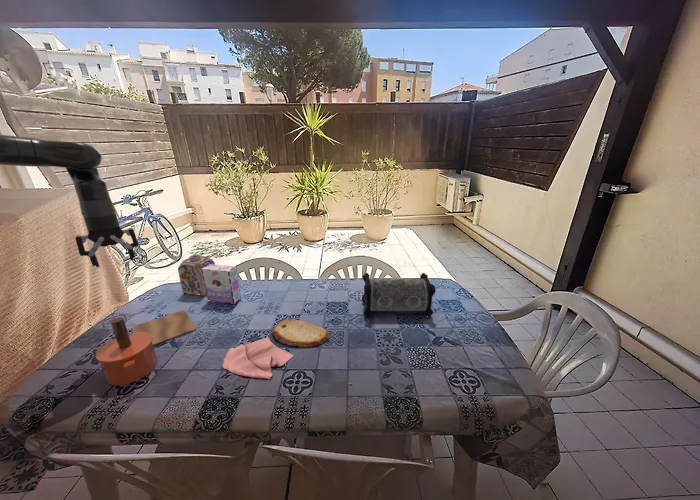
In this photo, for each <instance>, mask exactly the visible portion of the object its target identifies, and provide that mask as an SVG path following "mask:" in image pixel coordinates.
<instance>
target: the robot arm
mask: <svg viewBox="0 0 700 500" xmlns="http://www.w3.org/2000/svg"><path fill="white" fill-rule="evenodd" d="M102 160H103V157H102V154H101V152H100V151H99V150H98V149H97V148H95V147H94V146H93V145H90V144H88V143H85V142H77V141H63V140H62V141H61V140H46V139H41V138H35V137H27V136H18V135H8V134H0V165H1V166H13V167H14V166H15V167H16V166H17V167H18V166H19V167H37V168H46V167H53V168H65V169H66V172H67V174H68V176H69V178H70V179H71V181H72V184H73V188H74V190H75V194H76V196H77V200H78V202H79V203H78V204H79V209H80V213H81V215H82V218H83V221H84V224H85V226H86V229H87V234H84V235H80V234H77V235H76V236H75V242H76V246H77V249H78V253H79V254H78V255H79V256H81V257H84V256H85V257H89V260H90V263H91V265H92V266H93V267H96V268H99V267H100V263H99V260H98V257H97V254H96V253H97V252H98V250H99V248H100V247H103V248H106V247H109V246H116V245H118V244H120V245H121V246H122V247H125V248H126V250H127V253H128V256H129V259H130V261H134V259H135V258H136V254H135V251H134V248H137V247H139V245H140V243H139V241H138V238H137V236H136V233H135V230H134V228H133V227H129V228H126V229H122V228H121V225H120V222H119V219H118V215H117V212H116V209H115V205H114V203H113V201H112V199H111V194H110V193H109V189H108V186H107V183H106V182H105V180H104V179H103V178H102V177H101V175H100V173H99V170H98V167H99V166H100V165H101V164H102ZM124 234H126V235H127V236H128V237H130V238H131V240H132V242H131V243H129V242H128V241H126V239H123V236H124ZM87 240H89V241H91V242H92V243H93V244H92V246H91V247H90V249H89V250H86V248H85V244H84V243H86V242H87Z"/></svg>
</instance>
